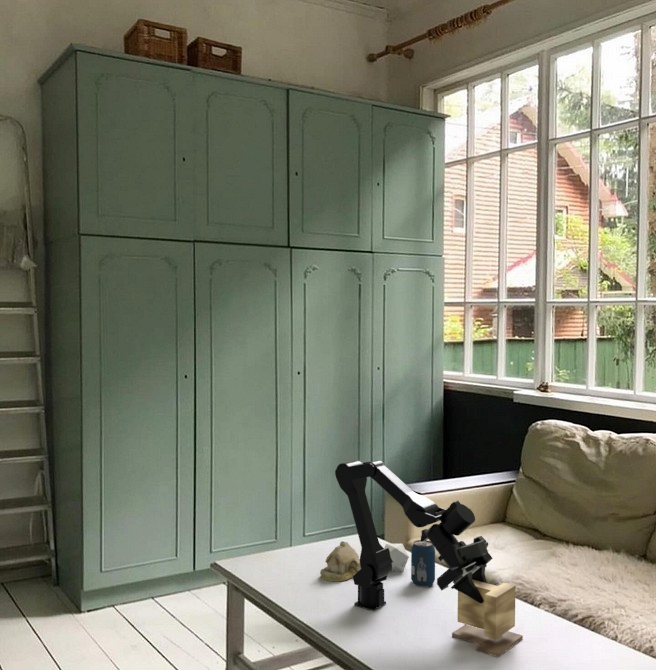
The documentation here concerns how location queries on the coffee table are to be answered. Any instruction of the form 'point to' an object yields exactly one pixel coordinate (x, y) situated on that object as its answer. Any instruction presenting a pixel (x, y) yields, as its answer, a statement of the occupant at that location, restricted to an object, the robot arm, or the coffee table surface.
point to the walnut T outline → (487, 640)
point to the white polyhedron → (397, 556)
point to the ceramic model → (341, 563)
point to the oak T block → (489, 609)
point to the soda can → (423, 563)
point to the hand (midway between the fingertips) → (486, 600)
